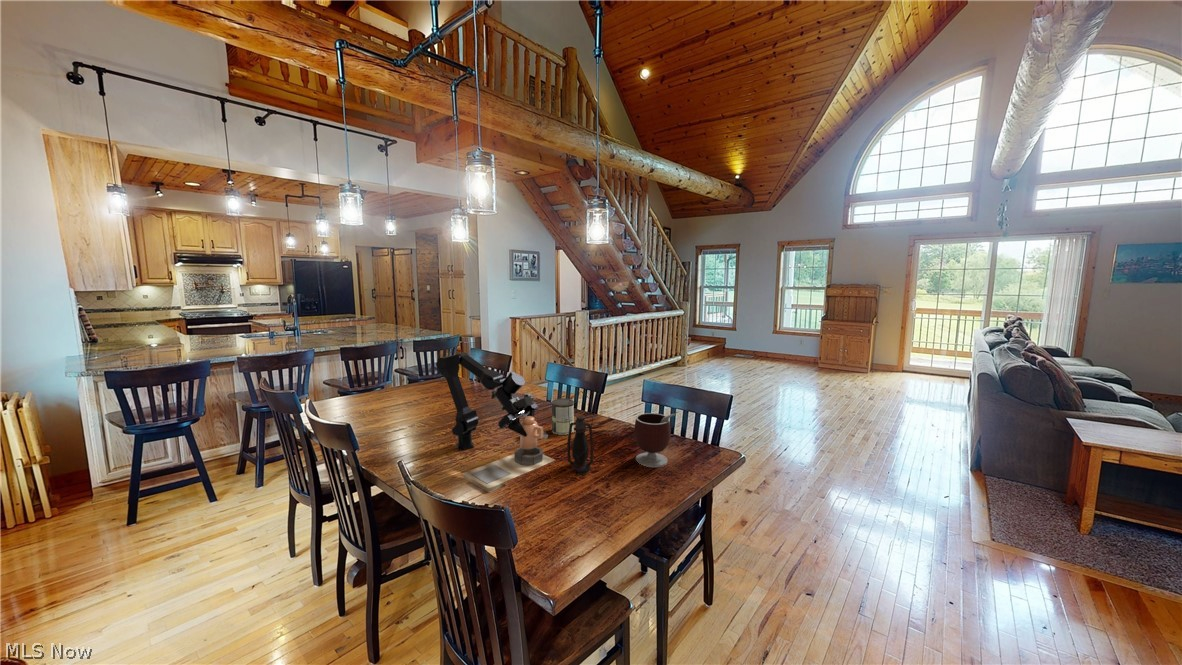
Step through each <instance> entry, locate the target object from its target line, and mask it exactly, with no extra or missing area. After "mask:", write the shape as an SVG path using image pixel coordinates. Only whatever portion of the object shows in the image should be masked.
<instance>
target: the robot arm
mask: <svg viewBox="0 0 1182 665" xmlns="http://www.w3.org/2000/svg"><path fill="white" fill-rule="evenodd" d="M460 366H461V367H463V368H464V369H466V370H467V371H468V372H470V373H471V374H472V375H474V376H475V377H477V379H479V381H480V384H481V385H482V386H483V387H484V388H485V389H486V390H488V391H491V399H492V400H493V399H497V401H498V402H499V403H500V405H501V406H502V408H501V410H502V411H505V412H506V413H507V414H505V415H504V416H503V417H502V418H501V419H500V420H499V421H498V422H497V425H498V427H499V429H500V430H503V429H506V430H507V429H508V430H510V431H512V432H515V433H517V434H518V435H520V434H521V435H523V436H524V437H526V436H527V434H526V432H525V430H524V429H523V427H522V425H521V424H520V423H521V422H520V418H521V417H522V418H523V417H526V416H532V417H534V421H536V419H535V412H536V410H538V408H539V406H538V405H537V403H535V402H534V397H533V395H532V393H530V392H528V393H526V394H524V396H523V397H522V398H520V397H519V396H517V397H516V396H515V394H517V393H518V391H519V390H520V389H521V388H522V387H523V386H524V385H525V382H526V381H525V378H524V377H523V376H522V375H521V374H518V373H516V372H515V371H514V370H513V371H510V372H509V374H508V375H507V376H505V375H503V374H502V373H501V372H500V371H499V372H498V371H496V370H493V369H489V368H487V367H485V366H484V365H483V364H481V363H480V362H478V361H477V360H476V359H475V358H473V357H471V356H470V355H469V354H468V353H467V352H460V353H456V354H455V355H452V354H451V355H447V356H443V357H439V358H438V359H437V361H436V368H437V369H438V371H439V373H440V375H441V376H442V377H443V378H445V380H446V382H447V385H448V388H449V392H450V394H451V398H452V400H453V404H454V406H455V409H456V416H455V422H456V424H455V426H454V427H453V428H451V432H452V435H454V436H457V443H455V446H456V449H457V450H458V451H461V450H467V449H473V448H475V445H474V443H473V442H472V441H473V438H472V435H473V434H472V432H475V431H477V426H478V425H479V416H478V414H477V410H476V409H472V408H470V406H469V403H468V400H467V397H466V395H465V391H464V389H463V385H462V383H461V380H460V377H459V371H460ZM494 389H496V390H494ZM492 390H493V391H492Z"/></svg>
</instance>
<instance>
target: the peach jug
mask: <svg viewBox="0 0 1182 665" xmlns="http://www.w3.org/2000/svg"><path fill="white" fill-rule="evenodd" d="M534 419H535V416H534V417H532V416H526V417H523V416H522V421H521V422H520V424H521V425H522V427H523V429H524V430H525V432H526V434H527V436H526V437H524V436H523V435H521V434H519V439H520V440H519V443H520V444H519V446H520V447H519V448H523V449H533V448H536V447H538V440H537V438H538V439H539V440H541V438H542V439H544V438H543V432H544V427H543V426H542V425H541V426H540V425H539V426H537V425H538V422H537V421H536V420H535V421H534ZM537 430H539V434H537Z"/></svg>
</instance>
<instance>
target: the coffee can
mask: <svg viewBox="0 0 1182 665" xmlns="http://www.w3.org/2000/svg"><path fill="white" fill-rule="evenodd" d="M570 399H571V398H557V399H553V400H552V401H551V426H552V427H551V433H553V434H554V435H557V434H558V436H566V435H567V434H569V426H570V425H569V421H570V424H571V423H574V422H575V410H574V408H575V401H574V400H573V399H571V401H570ZM569 401H570V402H569ZM568 407H569V417H568ZM574 428H575V425H573V426H572V432H573V433H574V432H575V430H574ZM572 432H571V434H572Z"/></svg>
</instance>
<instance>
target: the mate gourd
mask: <svg viewBox="0 0 1182 665" xmlns="http://www.w3.org/2000/svg"><path fill="white" fill-rule="evenodd" d="M675 416H676V413H671V414H668V415H665V414H661V413H655V412H654V413H653V412H646V413H645V412H644V413H640V414H637V416H636V418H635V422H634V431H633V433H634V439H635V443H636V444H637V446H638V447H639V449H640V450H642V451H644V452H642V453H639V454H637V455H636V457H635V462H636V461H637V462H638V463H639V465H640V464H641V465H640V466H642V465H643V467H645V466H646V467H647V468H662V467H664V466H666V465H667V464H668V461H669V460H668V458H667V457H666V456H665V455H663V454H660V452H662V451H664V450H665V449H666V448H667V447H668V445H670V444H669V443H670V440H671V432H672V431H671V430H672V428H671V421H670V420H671V419H670V418H672V417H675ZM637 462H636V463H637ZM638 463H637V464H638Z"/></svg>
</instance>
